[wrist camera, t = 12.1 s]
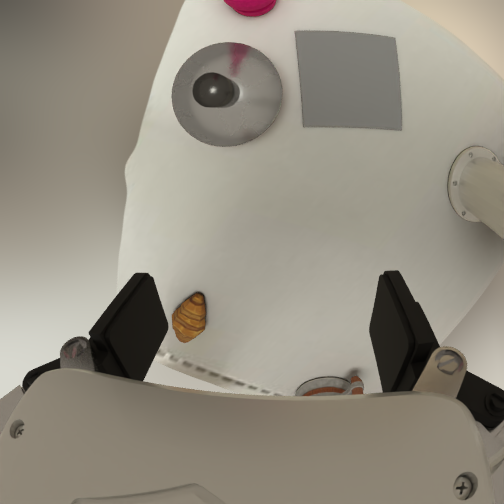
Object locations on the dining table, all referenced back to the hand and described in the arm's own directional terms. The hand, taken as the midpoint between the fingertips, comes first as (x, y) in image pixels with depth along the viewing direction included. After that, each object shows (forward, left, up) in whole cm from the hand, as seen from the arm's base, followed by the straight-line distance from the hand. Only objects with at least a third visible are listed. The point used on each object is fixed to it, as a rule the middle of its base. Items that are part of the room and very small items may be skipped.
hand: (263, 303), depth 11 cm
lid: (+6, -10, -25) cm, 28 cm away
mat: (-10, -12, -30) cm, 34 cm away
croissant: (+19, +27, -31) cm, 45 cm away
